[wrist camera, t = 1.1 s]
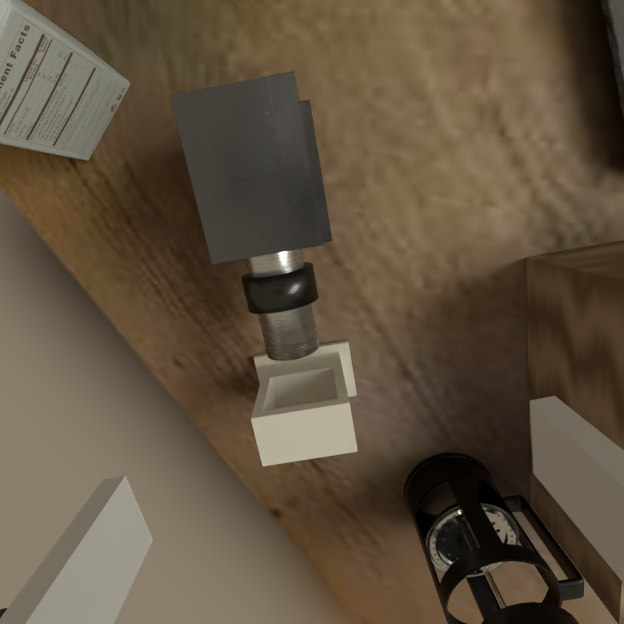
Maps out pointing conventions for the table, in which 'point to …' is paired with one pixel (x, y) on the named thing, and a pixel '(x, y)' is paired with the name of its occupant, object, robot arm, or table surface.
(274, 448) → the socket
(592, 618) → the table surface
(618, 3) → the serving board
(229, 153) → the dark grey block
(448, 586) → the french press
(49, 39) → the supplement box
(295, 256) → the rod
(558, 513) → the box
